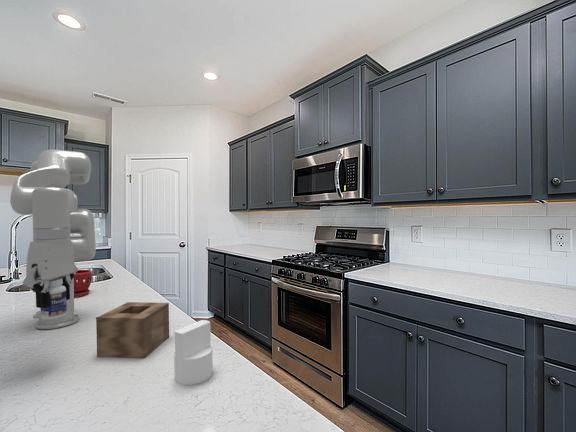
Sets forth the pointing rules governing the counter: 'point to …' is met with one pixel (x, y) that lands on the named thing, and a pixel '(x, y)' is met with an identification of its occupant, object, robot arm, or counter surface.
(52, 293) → the pill bottle
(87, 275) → the plant pot
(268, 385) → the counter surface
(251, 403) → the counter surface
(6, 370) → the counter surface
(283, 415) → the counter surface
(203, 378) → the cylinder with rectangular tab
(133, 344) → the socket block
